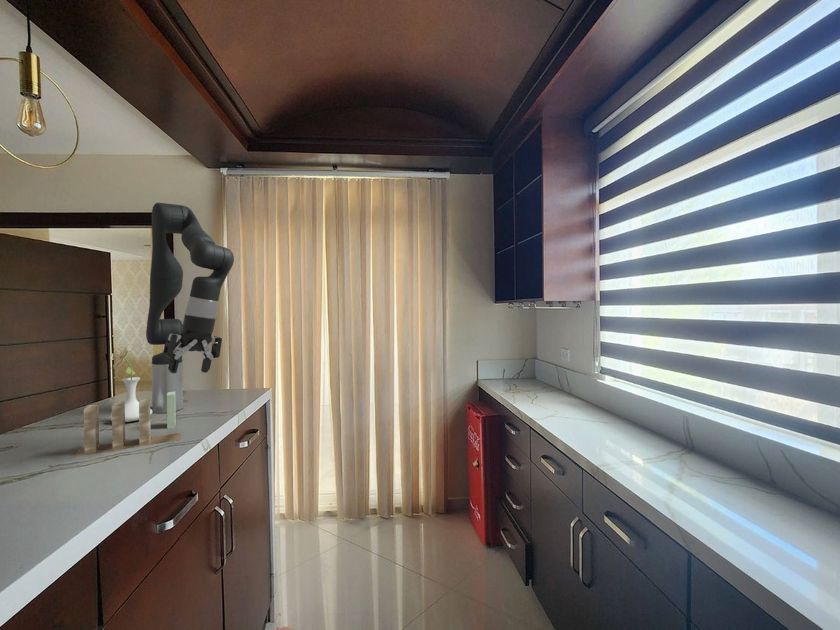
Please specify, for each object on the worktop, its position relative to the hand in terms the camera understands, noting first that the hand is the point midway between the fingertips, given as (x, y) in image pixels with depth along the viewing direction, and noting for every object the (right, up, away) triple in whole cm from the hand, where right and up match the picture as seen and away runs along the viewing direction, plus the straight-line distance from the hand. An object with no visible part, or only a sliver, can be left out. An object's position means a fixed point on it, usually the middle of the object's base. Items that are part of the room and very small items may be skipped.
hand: (189, 372), depth 103 cm
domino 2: (-11, -18, -2) cm, 21 cm away
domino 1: (-15, -19, -5) cm, 25 cm away
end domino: (-20, -19, -8) cm, 28 cm away
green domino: (-13, -19, +12) cm, 26 cm away
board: (-13, -20, -3) cm, 24 cm away
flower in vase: (-32, -19, +20) cm, 42 cm away
